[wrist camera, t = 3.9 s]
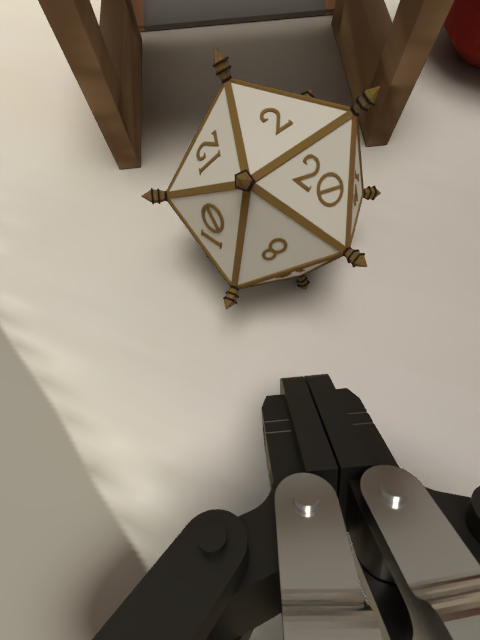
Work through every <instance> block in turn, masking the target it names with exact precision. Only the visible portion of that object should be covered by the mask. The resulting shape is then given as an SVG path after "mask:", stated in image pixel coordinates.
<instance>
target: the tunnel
mask: <svg viewBox="0 0 480 640" xmlns="http://www.w3.org/2000/svg"><path fill="white" fill-rule="evenodd" d="M38 1H39V3H40V5H41V7H42V9H43V11H44V13H45V16H46V18H47V20H48V22H49V24H50V26H51V28H52V30H53V32H54V34H55V36H56V38H57V40H58V42H59V45H60V47H61V49H62V51H63V53H64V55H65V57H66V59H67V61H68V63H69V65H70V67H71V69H72V72H73V74H74V76H75V78H76V80H77V82H78V84H79V86H80V88H81V90H82V92H83V94H84V96H85V98H86V101H87V103H88V105H89V107H90V109H91V111H92V113H93V115H94V117H95V119H96V121H97V123H98V125H99V128H100V130H101V132H102V134H103V136H104V138H105V140H106V142H107V144H108V146H109V148H110V150H111V152H112V154H113V157H114V159H115V161H116V163H117V165H118V167H119V169H126V168H137V167H140V165H141V84H142V39H141V35H140V31H139V28H138V24H137V20H136V17H135V13H134V9H133V5H132V2H131V0H101V12H100V24H99V25H98V22H97V19H96V17H95V14H94V11H93V8H92V6H91V3H90V0H38ZM453 2H454V0H400V3H399V6H398V9H397V12H396V14H395V17H394V20H393V23H392V21H391V18H390V15H389V13H388V10H387V7H386V5H385V2H384V0H336V3H335V8H334V13H333V18H332V23H331V24H332V28H333V31H334V35H335V38H336V42H337V45H338V49H339V53H340V56H341V60H342V63H343V67H344V70H345V74H346V77H347V81H348V84H349V88H350V91H351V95H352V98H353V102H354V104H355V102H356V101H355V100H356V98H357V97H358V96H359V97H360V95H361V94H362V92H363V90H364V89H365V90H368V89H371V88H374V87H378V86H380V88H379V91H378V94H377V97H376V100H375V102H374V103H375V106H371V107H370V108H368V111H367V112H365V111H364V112H363V113H361V114H359V116H358V120H359V123H360V127H361V130H362V134H363V137H364V141H365V144H366V146H377V145H387V143H388V141H389V139H390V137H391V135H392V133H393V130H394V128H395V126H396V124H397V122H398V120H399V118H400V116H401V113H402V111H403V109H404V107H405V105H406V103H407V101H408V98H409V96H410V94H411V92H412V90H413V88H414V86H415V83H416V81H417V79H418V77H419V75H420V73H421V71H422V69H423V66H424V64H425V62H426V60H427V58H428V56H429V54H430V51H431V49H432V47H433V45H434V43H435V41H436V39H437V36H438V34H439V32H440V30H441V28H442V26H443V24H444V22H445V19H446V17H447V15H448V13H449V11H450V9H451V7H452V4H453Z"/></svg>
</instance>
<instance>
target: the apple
mask: <svg viewBox="0 0 480 640" xmlns="http://www.w3.org/2000/svg"><path fill="white" fill-rule="evenodd" d="M444 26H445V29H446V31H447V33H448V36H449V38H450V40H451V42H452V43H453V45H454V47H455V49H456V51H457V53H458V55H459V56H460V57H461V58H462V59H463V60H464V61H465V62H466V63H467V64H469V65H472V66H474V67H477V68H480V0H454V2H453V4H452V7H451V9H450V11H449V13H448V15H447V17H446V19H445V22H444Z"/></svg>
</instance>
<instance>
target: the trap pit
mask: <svg viewBox="0 0 480 640" xmlns="http://www.w3.org/2000/svg"><path fill="white" fill-rule="evenodd" d="M131 2H132V5H133V9H134V13H135V17H136V20H137V24H138V28H139V31H150V30H162V29H173V28H184V27H195V26H206V25H217V24H229V23H240V22H251V21H262V20H273V19H284V18H296V17H307V16H318V15H329V14H333V13H334V8H335V3H336V0H131Z"/></svg>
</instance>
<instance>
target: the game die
mask: <svg viewBox="0 0 480 640" xmlns="http://www.w3.org/2000/svg"><path fill="white" fill-rule="evenodd" d="M227 59H229V58H228V57H227V58H226V57H225V56H224V55H223V54H222V53H220V52H219V51H218V50H217V49H216V48H214V65H212V66H213V67H215V70H216V72H217V73H216V75H218V76H219V77H220V79H221V80H222V85H221V87H220V88H219V90H218V92H217V94H216V96H215V98H214V100H213V102H212V104H211V106H210V108H209V110H208V112H207V114H206V116H205V118H204V119H203V121H202V123H201V125H200V127H199V129H198V131H197V133H196V135H195V137H194V139H193V141H192V143H191V145H190V147H189V148H188V150H187V152H186V154H185V156H184V158H183V160H182V162H181V164H180V166H179V168H178V170H177V172H176V174H175V176H174V177H173V179H172V181H171V183H170V185H169V187H168V189H167V191H161V190H159V189H157V190H153V189H152V188H151V190H150V191H148V192H147V193H145V194H144V195H142V197H143V198H145V199H147V200H148V201H150V202H152V204H154V203H159V204H160V202H163V201H168V203H169V204H170V206H171V207H172V208H173V210H174V211H175V212H176V214H177V215H178V216H179V218H180V219H181V220H182V222H183V223H184V224H185V226H186V227H187V228H188V230H189V231H190V232H191V234H192V235H193V237H194V238H195V239H196V241H197V242H198V243H199V245H200V246H201V247H202V249H203V250H204V251H205V253H206V254H207V257H209V258H210V259H211V261H212V262H213V263H214V265H215V266H216V268H217V269H218V270H219V272H220V273H221V274H222V276H223V277H224V278H225V280H226V281H227V282H228V284H229V285H230V289H229V290H228V291H227V292H226V296H225V297H224V298H223V299H224V301H225V307H226V309H228V308H229V307H231V306H232V305H233V304H235V303H236V304H237V302H236V300H237V298H238V297H239V296H238V290H239V289H243V288H247V287H252V286H257V285H262V284H267V283H272V282H276V281H281V280H286V279H291V278H296V277H298V279H297V282H298V286H301V287H303V288H304V289H306V288H307V286H308V284H309V283H310V282H309V281H308V280H307V279H308V278H307V277H306V276H305V274H307V273H309V272H311V271H313V270H315V269H317V268H319V267H321V266H323V265H325V264H328V263H330V262H332V261H334V260H336V259H338V258H340V257H342V256H345V257H346V258H347V261H348V263H351V264H352V265H353V267H355V266H359V267H367V264H366V260H365V257H364V255H365V253H360V252H359V250H354V249H352V248H351V247H350V246H351V242H352V238H353V234H354V230H355V226H356V222H357V219H358V215H359V211H360V207H361V203H362V199H363V197H364V198H365V199H367V200H369V199H372V200H374V199H375V197H377V196H378V195H379V194H380V192H379V191H378V190H377V189H376V187H375V186H373V187H370V186H368V187H367V188H366V189H364V188H363V176H362V163H361V151H360V138H359V126H358V116H359V114H361V113H363V112H364V111H365V112H367V111H368V108H370V107H371V106H375V103H374V102H375V100H376V97H377V94H378V91H379V88H380V86H378V87H374V88H371V89H368V90H365V89H364V90H363V92H362V94H361V95H360V97H359V96H358V97H357V98H356V100H355V101H356V102H355V104H354V105H353V106H351V107H350V106H346V105H341V104H337V103H333V102H329V101H325V100H321V99H317V98H314V96H313V95H312V92H311V89H310V90H308V91H306V92H304V93H301V95H300V94H296V93H292V92H288V91H284V90H280V89H275V88H271V87H267V86H263V85H259V84H255V83H251V82H247V81H243V80H238V79H234V78H232V77H231V74H230V68H231V65H230V66H229V64H228V61H227Z"/></svg>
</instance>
